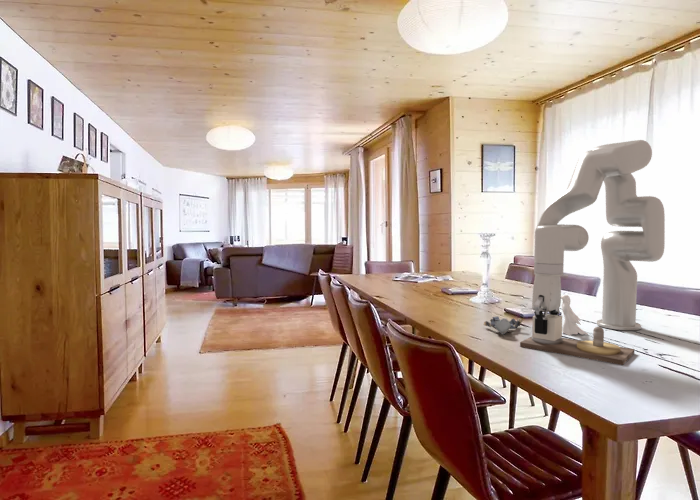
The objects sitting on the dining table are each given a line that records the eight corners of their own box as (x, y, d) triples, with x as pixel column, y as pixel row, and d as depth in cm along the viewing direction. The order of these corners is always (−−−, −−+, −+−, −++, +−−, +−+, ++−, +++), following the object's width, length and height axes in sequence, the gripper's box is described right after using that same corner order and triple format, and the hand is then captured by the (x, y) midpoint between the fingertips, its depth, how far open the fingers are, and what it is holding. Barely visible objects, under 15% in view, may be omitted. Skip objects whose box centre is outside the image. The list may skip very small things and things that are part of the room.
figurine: (559, 329, 145) (560, 292, 144) (587, 332, 142) (588, 294, 141) (559, 335, 138) (560, 296, 138) (588, 337, 135) (589, 298, 134)
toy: (524, 322, 148) (525, 325, 134) (495, 339, 151) (493, 344, 137) (511, 304, 150) (511, 305, 136) (483, 322, 153) (480, 325, 139)
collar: (540, 333, 131) (540, 313, 131) (561, 337, 127) (562, 315, 127) (532, 337, 127) (532, 316, 126) (554, 341, 123) (555, 319, 122)
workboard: (537, 337, 135) (537, 312, 135) (634, 353, 118) (635, 324, 118) (520, 346, 126) (520, 319, 125) (622, 365, 109) (623, 333, 108)
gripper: (545, 266, 135) (544, 323, 136) (522, 271, 122) (521, 333, 123) (572, 268, 130) (571, 327, 131) (551, 273, 117) (550, 338, 118)
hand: (547, 330), depth 127 cm, fingers open, 9 cm apart
